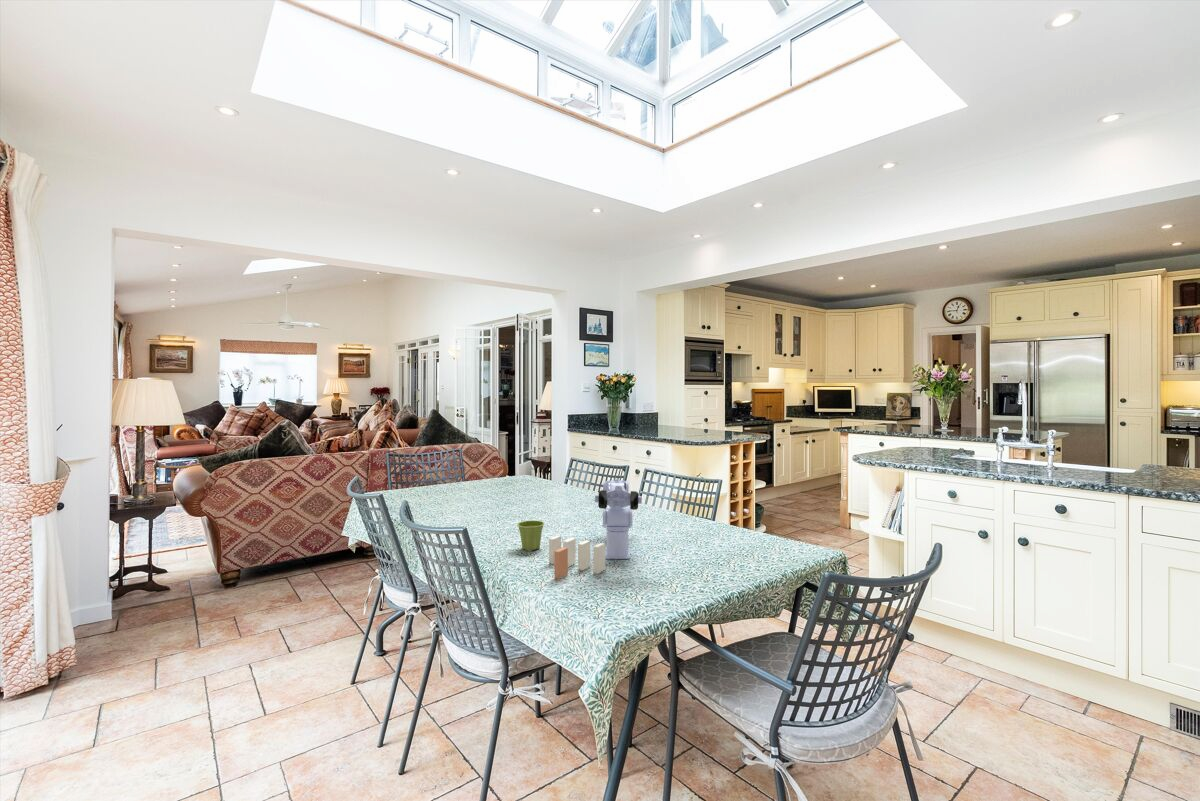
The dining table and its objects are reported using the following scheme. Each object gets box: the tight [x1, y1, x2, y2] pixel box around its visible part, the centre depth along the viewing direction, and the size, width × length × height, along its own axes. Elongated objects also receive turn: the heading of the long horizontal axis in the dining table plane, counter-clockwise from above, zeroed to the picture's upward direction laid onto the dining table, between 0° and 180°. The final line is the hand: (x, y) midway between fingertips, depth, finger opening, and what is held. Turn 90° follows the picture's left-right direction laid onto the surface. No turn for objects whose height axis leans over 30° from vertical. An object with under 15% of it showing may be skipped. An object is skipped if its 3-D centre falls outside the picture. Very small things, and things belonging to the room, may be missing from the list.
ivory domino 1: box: [548, 535, 562, 565], centre depth 172 cm, size 2×4×8 cm, turn 149°
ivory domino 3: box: [577, 540, 591, 571], centre depth 167 cm, size 2×4×8 cm, turn 149°
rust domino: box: [553, 546, 569, 580], centre depth 159 cm, size 2×4×8 cm, turn 149°
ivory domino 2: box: [562, 537, 577, 567], centre depth 169 cm, size 2×4×8 cm, turn 149°
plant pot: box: [517, 520, 545, 551], centre depth 187 cm, size 9×9×9 cm
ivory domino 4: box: [592, 542, 606, 574], centre depth 164 cm, size 2×4×8 cm, turn 149°
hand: (618, 504), depth 159 cm, fingers open, 7 cm apart
